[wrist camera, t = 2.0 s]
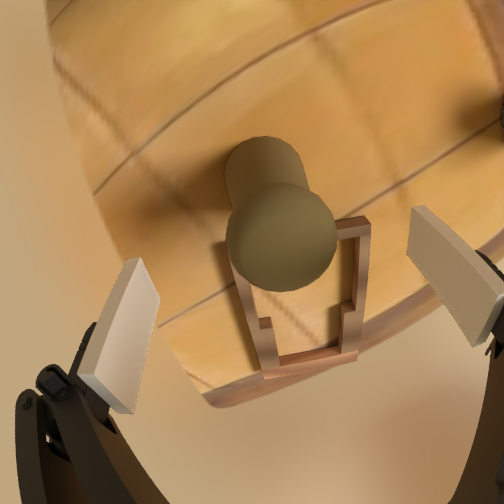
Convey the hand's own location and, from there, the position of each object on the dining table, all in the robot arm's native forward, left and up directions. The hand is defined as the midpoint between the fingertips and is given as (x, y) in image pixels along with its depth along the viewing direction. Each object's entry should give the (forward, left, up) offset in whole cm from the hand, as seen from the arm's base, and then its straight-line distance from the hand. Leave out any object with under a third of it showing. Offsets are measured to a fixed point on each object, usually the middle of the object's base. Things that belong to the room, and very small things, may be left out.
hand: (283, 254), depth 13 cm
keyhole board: (+15, +2, -10) cm, 18 cm away
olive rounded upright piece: (0, 0, -10) cm, 10 cm away
